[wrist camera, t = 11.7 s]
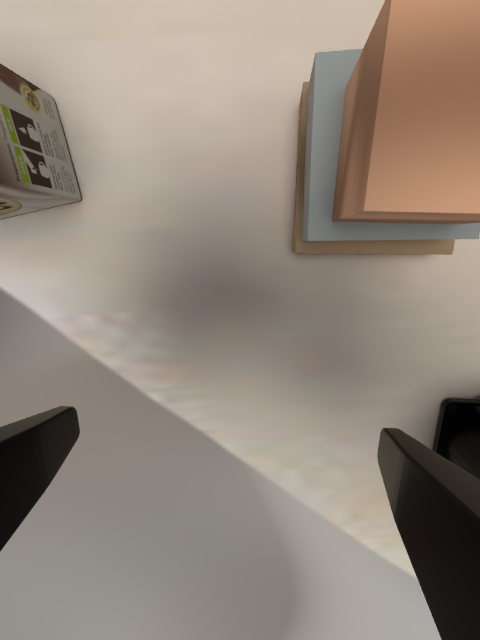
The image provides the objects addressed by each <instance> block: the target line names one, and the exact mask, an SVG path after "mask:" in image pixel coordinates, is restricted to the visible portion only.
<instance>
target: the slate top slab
mask: <svg viewBox="0 0 480 640" xmlns="http://www.w3.org/2000/svg"><path fill="white" fill-rule="evenodd" d="M362 51H363V49H355V50H343V51H331V52H319V53H316V54H315V58H314V63H313V68H312V73H311V77H310V82H309V87H308V99H307V125H306V151H305V177H304V203H303V229H302V241H345V240H424V239H478V238H479V233H480V223H468V224H456V225H452V224H414V223H376V222H339V221H332V214H333V205H334V195H335V186H336V177H337V167H338V158H339V148H340V139H341V130H342V120H343V111H344V101H345V92H346V86H347V83H348V81H349V79H350V77H351V75H352V73H353V70H354V68H355V66H356V64H357V62H358V59H359V57H360V55H361V53H362Z"/></svg>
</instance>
